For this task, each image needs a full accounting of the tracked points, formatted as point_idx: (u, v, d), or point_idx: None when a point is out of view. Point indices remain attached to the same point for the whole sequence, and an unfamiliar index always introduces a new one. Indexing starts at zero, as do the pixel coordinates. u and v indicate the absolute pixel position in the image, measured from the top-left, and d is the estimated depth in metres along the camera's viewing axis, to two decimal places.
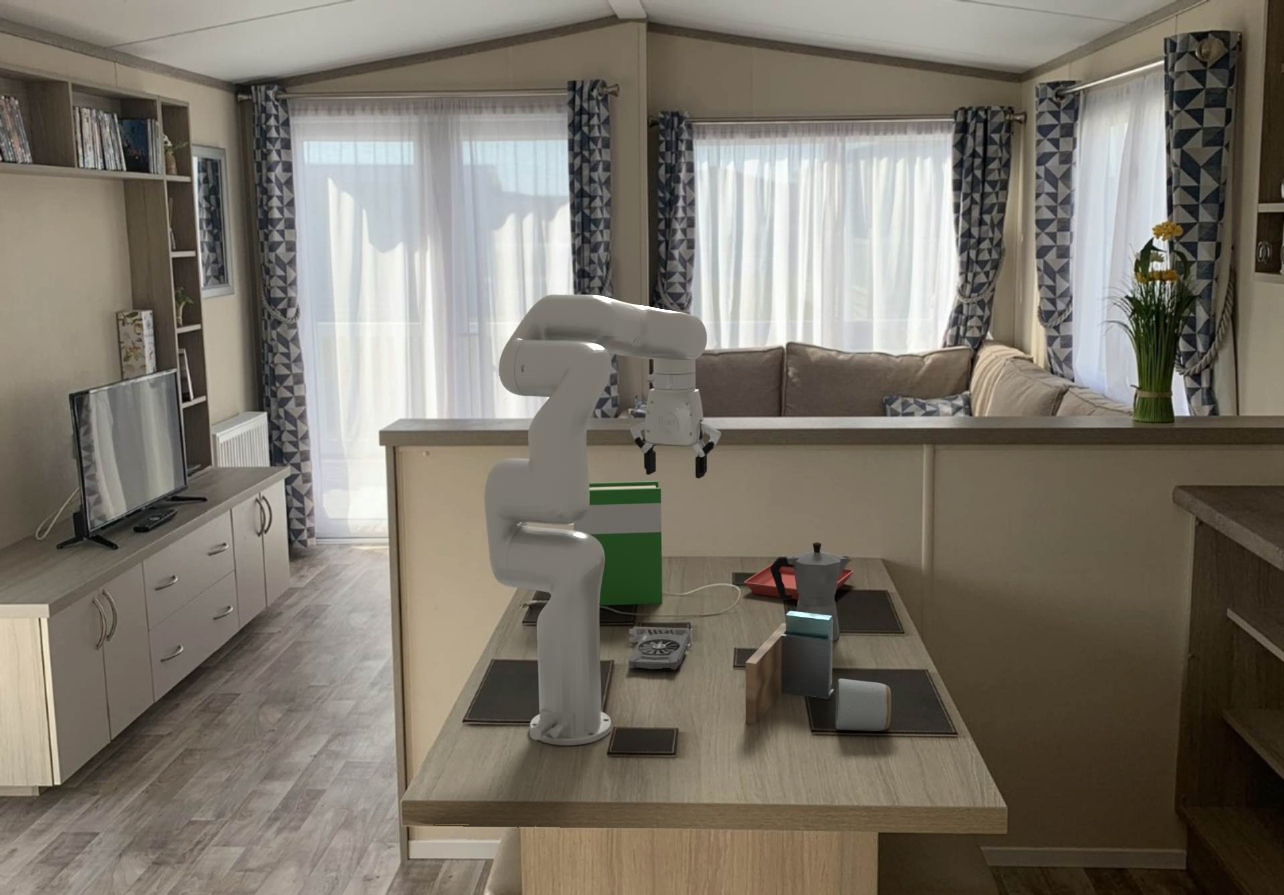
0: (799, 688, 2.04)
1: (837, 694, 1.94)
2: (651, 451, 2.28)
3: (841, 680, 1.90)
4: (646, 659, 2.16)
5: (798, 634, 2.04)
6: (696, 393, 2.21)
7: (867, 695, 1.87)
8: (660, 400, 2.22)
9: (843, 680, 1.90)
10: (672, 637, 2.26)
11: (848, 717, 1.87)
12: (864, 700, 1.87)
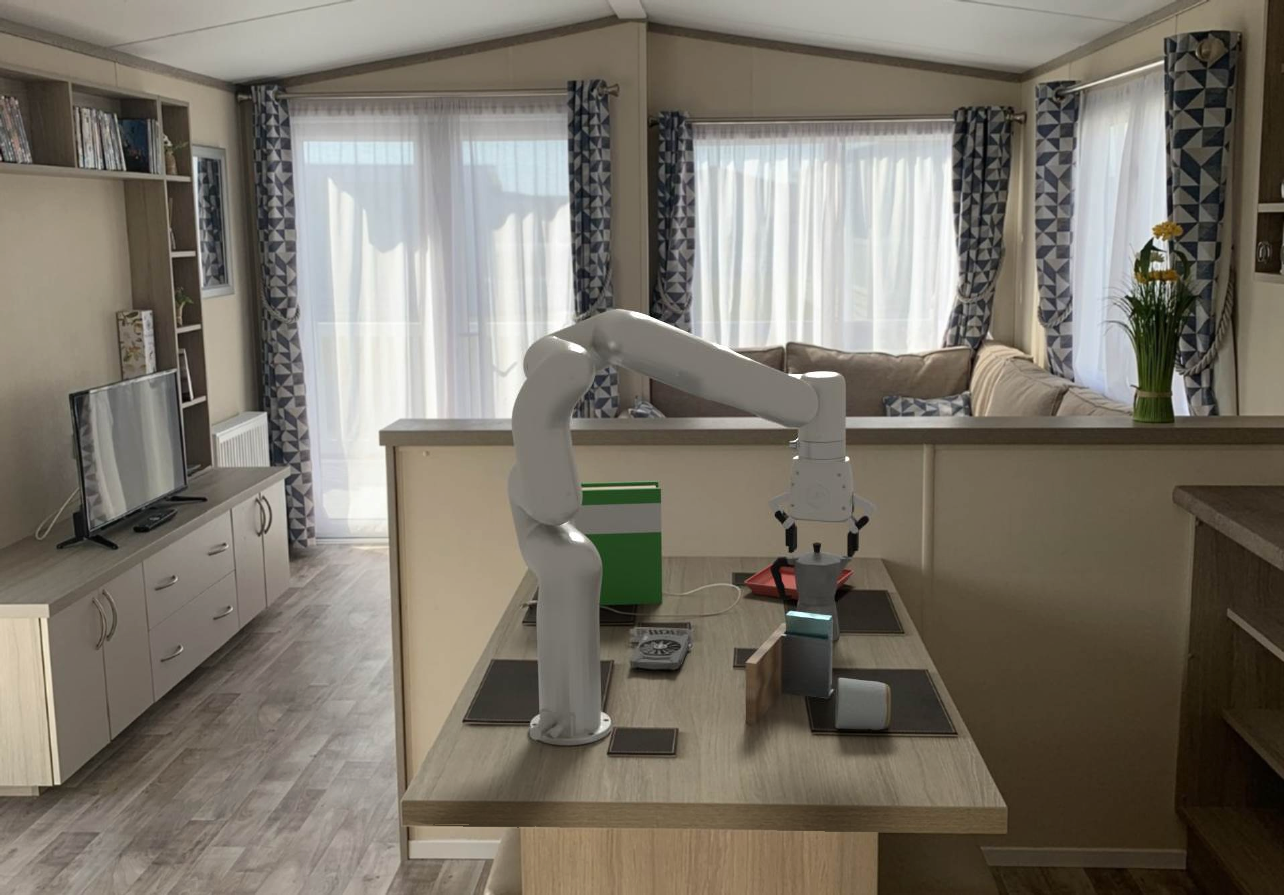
0: (799, 688, 2.04)
1: (837, 693, 1.95)
2: (793, 526, 2.02)
3: (841, 679, 1.90)
4: (647, 659, 2.16)
5: (798, 634, 2.04)
6: (848, 462, 1.96)
7: (866, 694, 1.88)
8: (807, 471, 1.97)
9: (843, 679, 1.91)
10: (673, 637, 2.26)
11: (848, 716, 1.88)
12: (864, 699, 1.87)
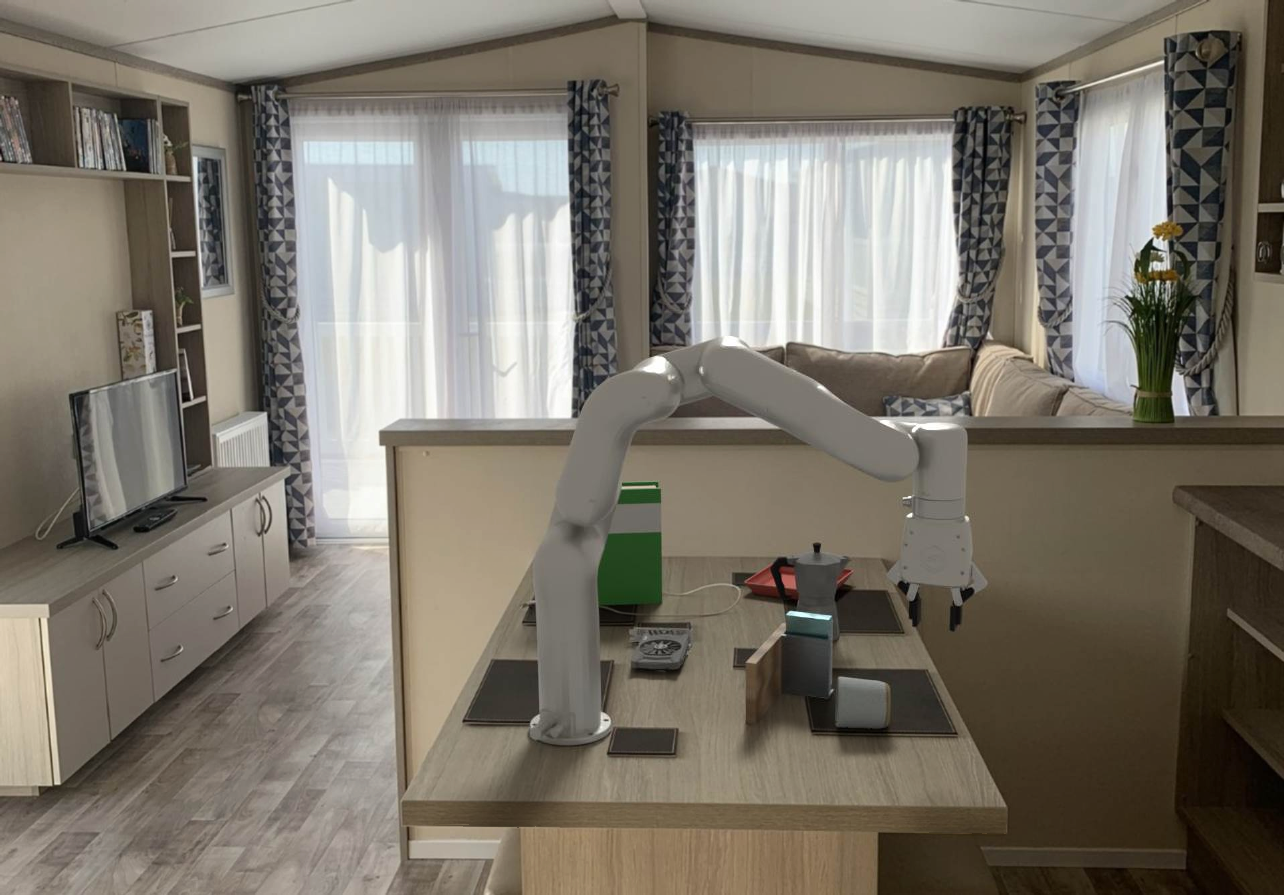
0: (799, 688, 2.04)
1: (837, 692, 1.95)
2: (918, 598, 1.85)
3: (841, 678, 1.91)
4: (648, 659, 2.16)
5: (798, 634, 2.04)
6: (968, 522, 1.79)
7: (866, 693, 1.88)
8: (922, 531, 1.80)
9: (843, 678, 1.91)
10: (673, 637, 2.26)
11: (848, 715, 1.88)
12: (864, 698, 1.88)
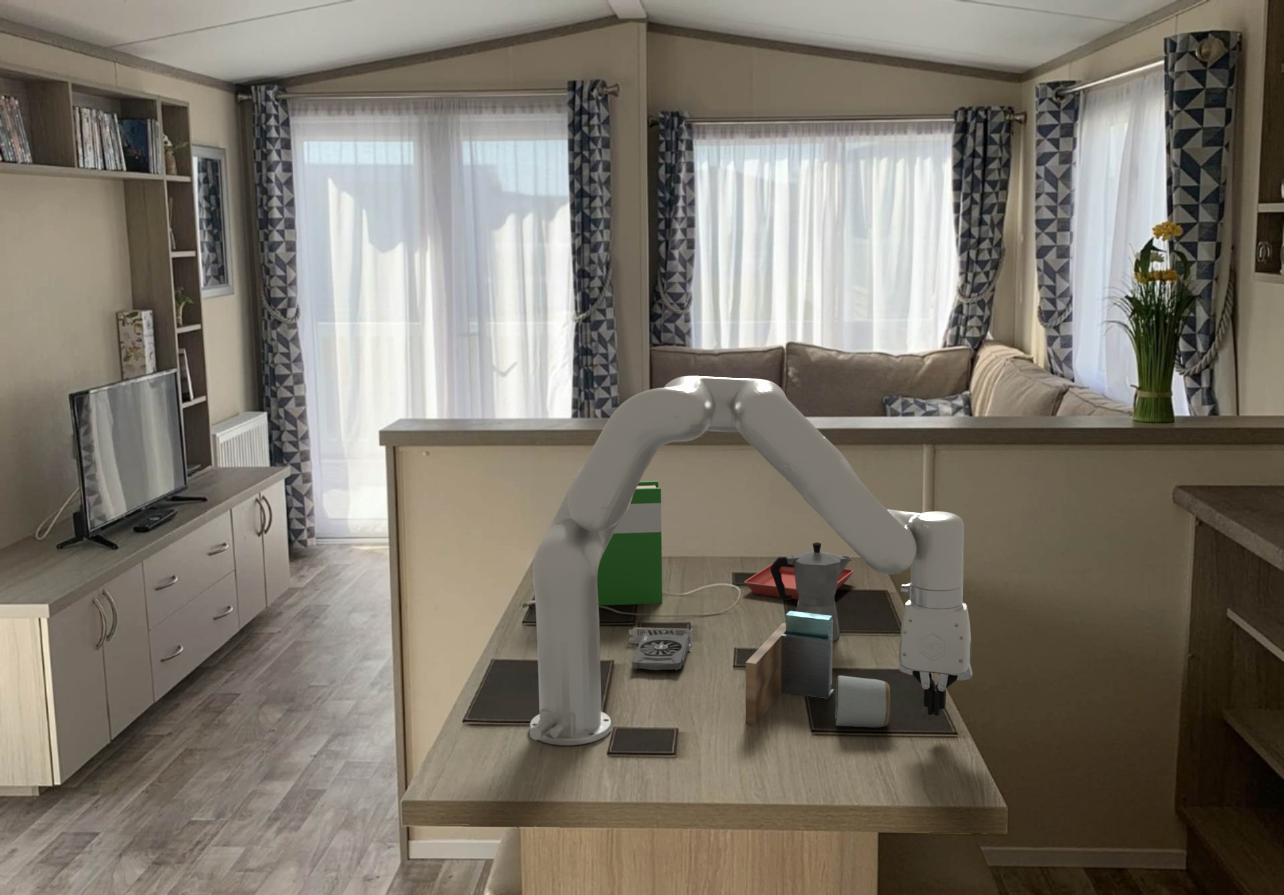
0: (799, 688, 2.04)
1: (837, 691, 1.96)
2: (933, 686, 1.87)
3: (840, 677, 1.91)
4: (649, 660, 2.16)
5: (798, 634, 2.04)
6: (966, 611, 1.82)
7: (866, 691, 1.89)
8: (920, 619, 1.83)
9: (842, 677, 1.91)
10: (673, 637, 2.26)
11: (847, 714, 1.89)
12: (864, 697, 1.88)
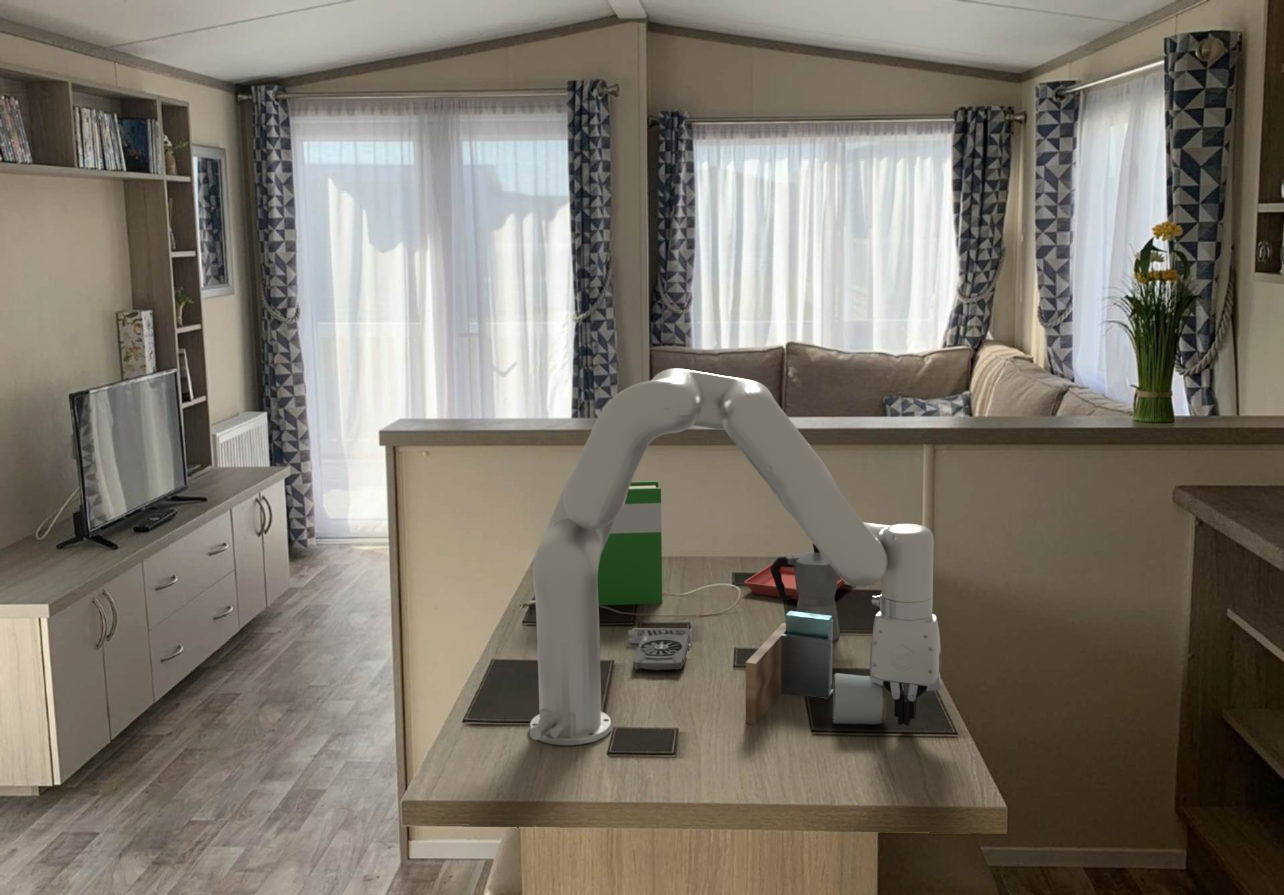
0: (799, 688, 2.04)
1: (834, 689, 1.96)
2: (903, 696, 1.89)
3: (837, 675, 1.92)
4: (650, 660, 2.16)
5: (798, 634, 2.04)
6: (935, 622, 1.84)
7: (862, 688, 1.89)
8: (891, 630, 1.85)
9: (839, 674, 1.92)
10: (672, 637, 2.26)
11: (844, 711, 1.89)
12: (860, 694, 1.89)
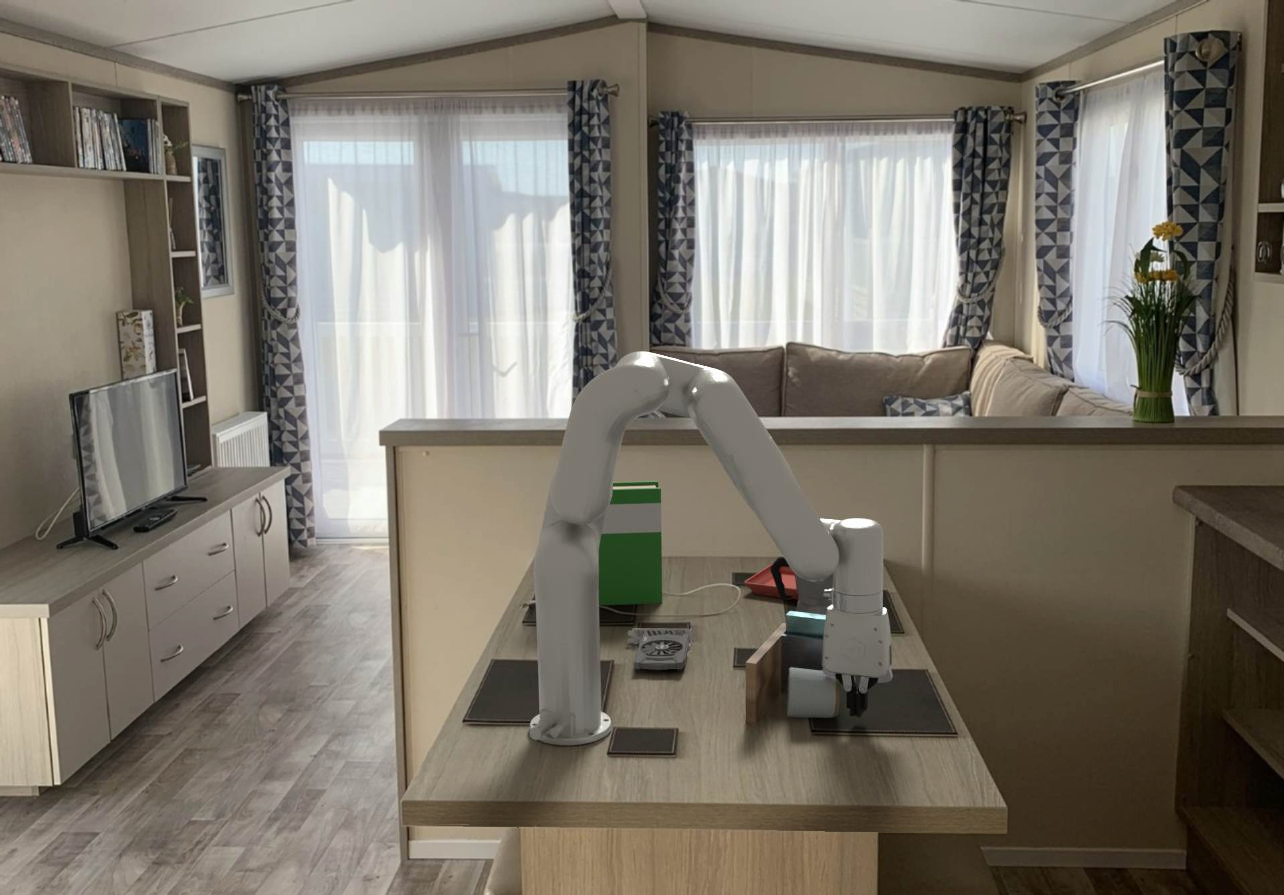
0: None
1: (788, 683, 1.99)
2: (855, 688, 1.92)
3: (791, 669, 1.95)
4: (651, 660, 2.16)
5: (798, 634, 2.04)
6: (885, 615, 1.87)
7: (816, 683, 1.92)
8: (841, 623, 1.88)
9: (793, 669, 1.95)
10: (672, 637, 2.26)
11: (798, 705, 1.92)
12: (814, 688, 1.92)
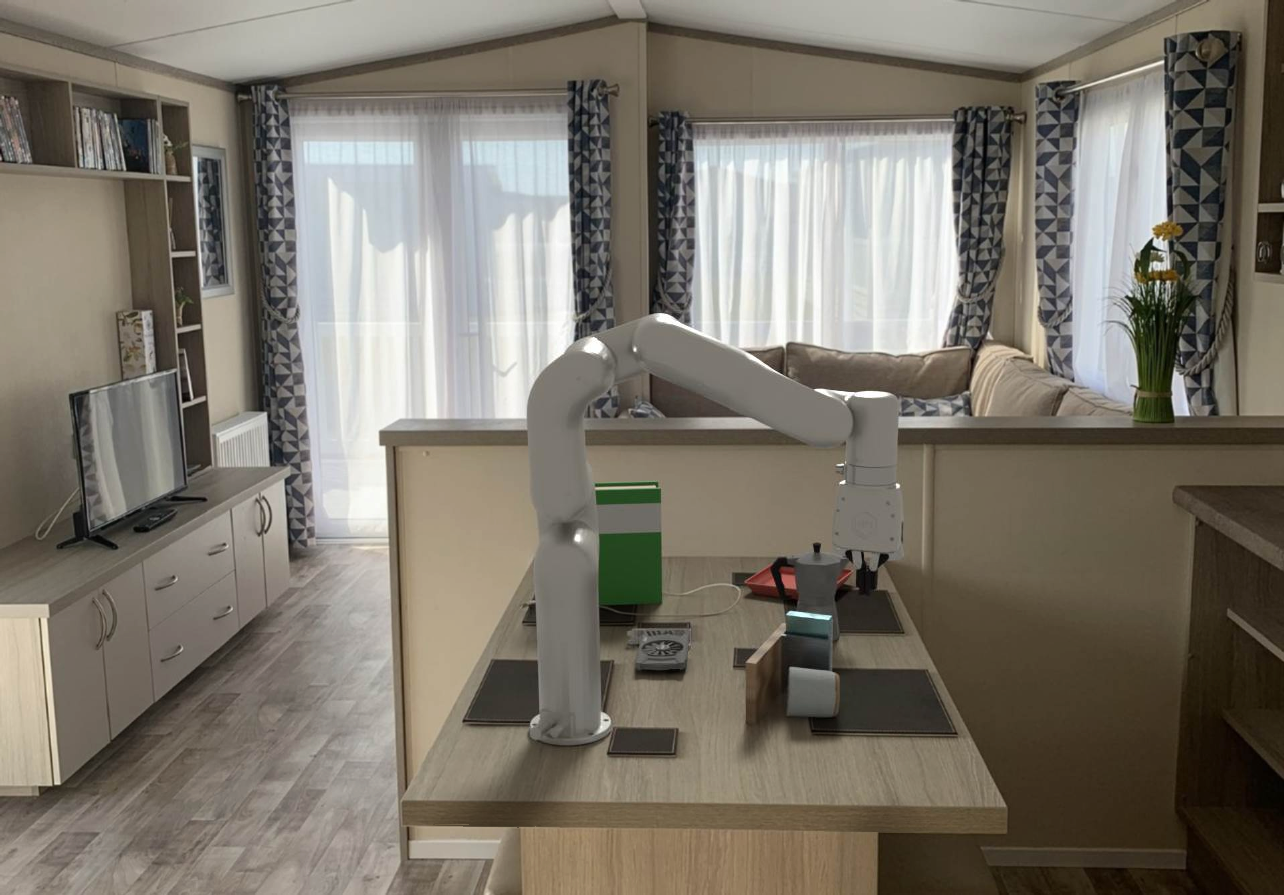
0: None
1: (788, 682, 1.99)
2: (865, 566, 1.87)
3: (791, 668, 1.95)
4: (653, 660, 2.15)
5: (798, 634, 2.04)
6: (899, 489, 1.83)
7: (816, 682, 1.93)
8: (853, 497, 1.84)
9: (793, 668, 1.95)
10: (672, 638, 2.26)
11: (798, 704, 1.92)
12: (813, 688, 1.92)
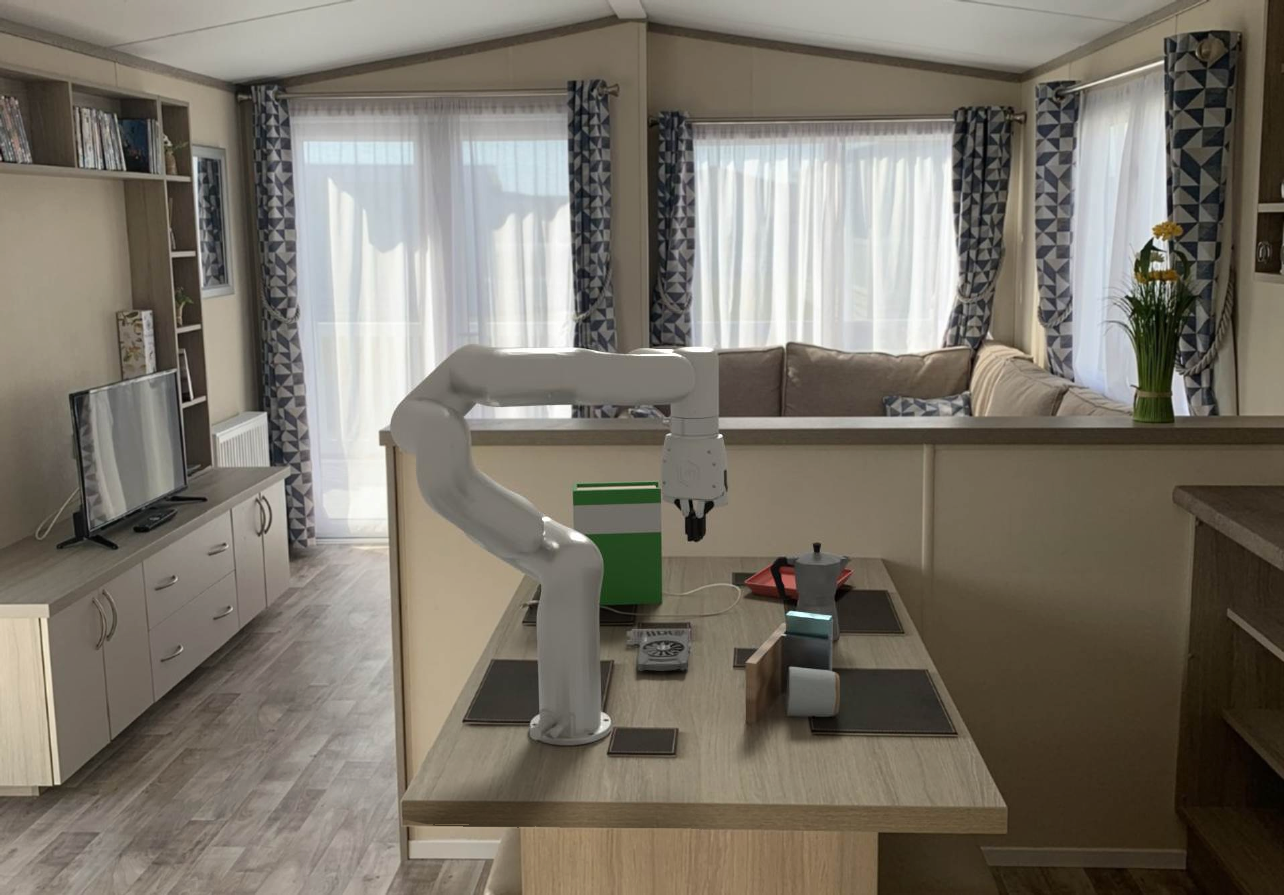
0: None
1: (788, 682, 2.00)
2: (693, 514, 1.97)
3: (791, 668, 1.95)
4: (654, 661, 2.15)
5: (798, 634, 2.04)
6: (720, 439, 1.92)
7: (816, 682, 1.93)
8: (678, 447, 1.93)
9: (793, 668, 1.95)
10: (672, 638, 2.26)
11: (798, 704, 1.93)
12: (814, 687, 1.92)
